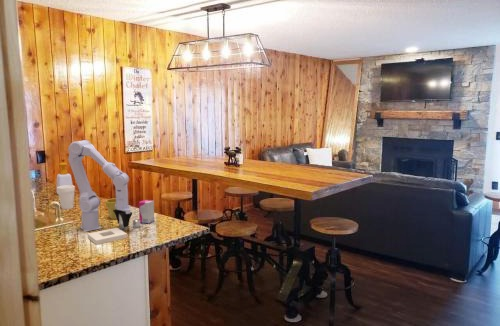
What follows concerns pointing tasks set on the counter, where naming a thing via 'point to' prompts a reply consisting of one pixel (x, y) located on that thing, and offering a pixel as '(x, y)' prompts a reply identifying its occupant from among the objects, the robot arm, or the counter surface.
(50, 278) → the counter surface
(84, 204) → the robot arm
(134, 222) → the short steel pin
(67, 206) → the foam cup
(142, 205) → the supplement box
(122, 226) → the long steel pin
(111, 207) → the plant pot
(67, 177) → the soap bottle
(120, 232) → the hole board
